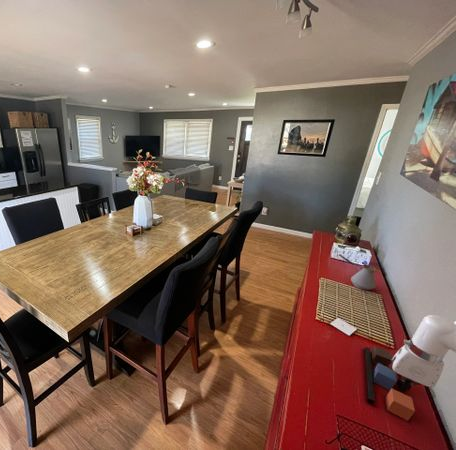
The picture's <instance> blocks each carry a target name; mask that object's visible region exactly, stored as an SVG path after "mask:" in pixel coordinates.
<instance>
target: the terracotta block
mask: <svg viewBox="0 0 456 450" xmlns="http://www.w3.org/2000/svg"><path fill="white" fill-rule="evenodd" d="M385 403H386V410H387V411H388V412H389V413H392V414H394V415H396V416H398V417H399V418H401V419H403V420H405V421H407V422H409V420H410V419H411V417H413V415H414V413H415V412H416V410H415V406H414V399H413V398H412V397H411V396H409V395H407V394H405V393H404V392H401V391H398V390H396V389H394V388H391V390H389V392H388V393H387V394H386V397H385Z"/></svg>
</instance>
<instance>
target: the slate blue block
mask: <svg viewBox="0 0 456 450" xmlns="http://www.w3.org/2000/svg"><path fill="white" fill-rule="evenodd" d="M372 376H373V383H375V384H377V385H379V386H381V387H383V388H384V389H386V390H388V391H390V390H391V388H392V389H394V386H395V385H396V384H397V373H396V372H394V371H392V370H390V369H389V368H388V367H386V366H384V365H382V364H380V363H378V364H377V365H375V368H374V370H372Z"/></svg>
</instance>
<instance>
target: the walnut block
mask: <svg viewBox="0 0 456 450" xmlns="http://www.w3.org/2000/svg"><path fill="white" fill-rule="evenodd" d="M370 353H371V364H372V365H375V366H377V364H378V363H380V364H382V365H384V366H386V367H388V368H389V366H388V365H389V364H391V363H392V359H393V355H392V352H391V351H390V350H388V349H385V348H382V347H380V346H377V345H373V347H372V348H371V350H370Z"/></svg>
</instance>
